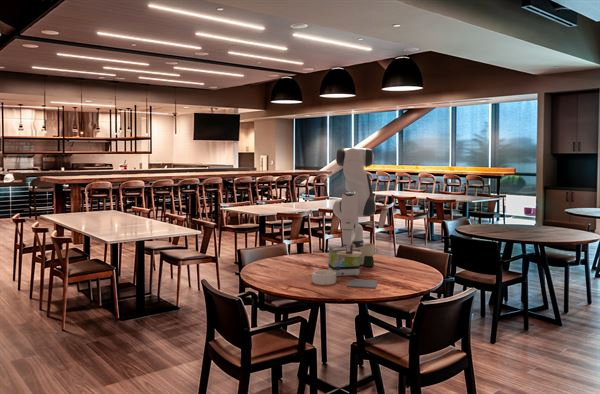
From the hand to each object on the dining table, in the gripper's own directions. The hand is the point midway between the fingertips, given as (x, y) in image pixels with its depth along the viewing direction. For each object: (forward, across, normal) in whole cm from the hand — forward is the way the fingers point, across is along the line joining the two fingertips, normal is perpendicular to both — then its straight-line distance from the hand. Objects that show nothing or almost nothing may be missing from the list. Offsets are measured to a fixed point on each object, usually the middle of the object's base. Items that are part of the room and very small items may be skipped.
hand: (349, 250), depth 260 cm
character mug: (+17, -43, +6) cm, 46 cm away
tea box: (+17, -20, -6) cm, 27 cm away
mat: (+17, 0, +7) cm, 18 cm away
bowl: (+17, 0, -13) cm, 21 cm away
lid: (+2, 0, 0) cm, 2 cm away
